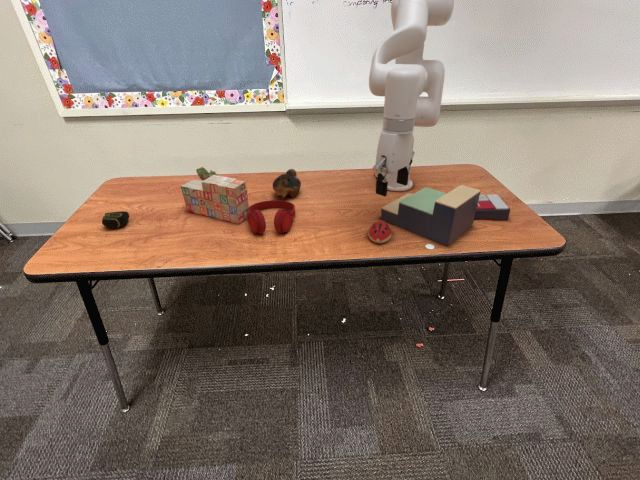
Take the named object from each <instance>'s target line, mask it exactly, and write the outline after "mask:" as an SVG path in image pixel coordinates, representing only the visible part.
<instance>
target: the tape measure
mask: <svg viewBox="0 0 640 480" xmlns="http://www.w3.org/2000/svg"><path fill="white" fill-rule="evenodd" d="M129 219H130V214H129V212H128V211H123V210H122V211H113V212H105V213H104V215H103V216H102V219H101V223H102V225H103V226H104V227H105V228H107V229H117V228H118V229H119V228H121V227H124V226H125V225H127V224H128V223H129Z"/></svg>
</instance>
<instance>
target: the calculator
mask: <svg viewBox="0 0 640 480" xmlns="http://www.w3.org/2000/svg"><path fill="white" fill-rule="evenodd" d="M510 213H511V208H510V207H509V206H508V205H507V204H506V203H505V201H504V200H503V199H502V198H501V196H500V195H499V194H497V193H494V194H485V193H480V196H479V201H478V205H477V209H476V213H475V217H474V220H485V219H486V220H487V219H488V220H489V219H493V220H495V221H508V219H509V217H510Z"/></svg>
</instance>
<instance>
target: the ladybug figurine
mask: <svg viewBox="0 0 640 480" xmlns="http://www.w3.org/2000/svg"><path fill="white" fill-rule="evenodd" d="M367 235H368V238H369V240H370V241H372V242H373V243H376V244H385V243H387V242H388V241H390V239H391V238H392V228H391V227H390V225H389V224H388V222H387V221H384V220H377V221H375V222H374V223H373V224H372V225H371V226H370V227H369V228H368V232H367Z"/></svg>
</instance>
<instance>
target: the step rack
mask: <svg viewBox="0 0 640 480" xmlns="http://www.w3.org/2000/svg"><path fill="white" fill-rule="evenodd" d="M481 192H482V190H481V189H478V188H474V187H471V186H467V185H464V184H460V185H457V186H456V187H455V188H454V189H452V190H450V191H448V192H444V191H442V190H438V189H435V188H432V187H428V186H425V187H423V188H422V189H419V190H418V191H416V192H415V193H410V192H407V193H405V194H404V195H402V196H400V197H399V198H397V199H394V200H393V201H391V202H389V203H387V204H386V205H384V206H382V207H381V209H380V220H381V221H384V222H386V223H390V224H392V225H394V226H396V227H399V228H401V229H403V230H406V231H409V232H412V233H413V234H416V235H419V236H421V237H424V238H425V239H428V240H431V241H433V242H436V243H438V244H441V245H443V246H446V247H449V246H451V245H452V244H453V243H454V242H455V241H456V240H457V239H459V238H460V237H461V236H462V235H464V234H466V232H467V231H469V230H470V229H472V228H473V224H474V220H475V219H474V217H475V213H476V209H477V205H478V201H479V196H480V194H481Z"/></svg>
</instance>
